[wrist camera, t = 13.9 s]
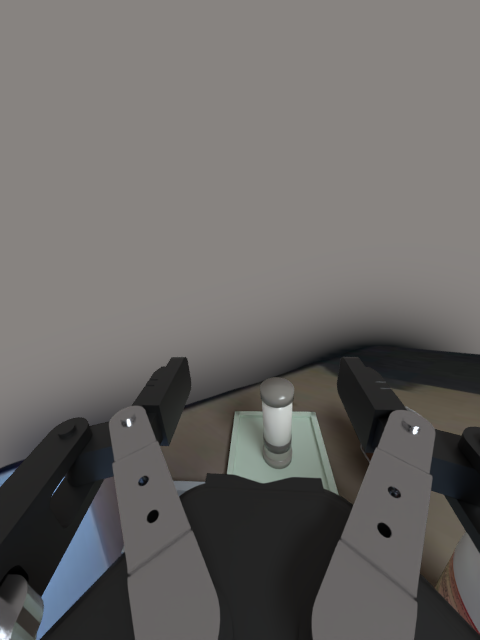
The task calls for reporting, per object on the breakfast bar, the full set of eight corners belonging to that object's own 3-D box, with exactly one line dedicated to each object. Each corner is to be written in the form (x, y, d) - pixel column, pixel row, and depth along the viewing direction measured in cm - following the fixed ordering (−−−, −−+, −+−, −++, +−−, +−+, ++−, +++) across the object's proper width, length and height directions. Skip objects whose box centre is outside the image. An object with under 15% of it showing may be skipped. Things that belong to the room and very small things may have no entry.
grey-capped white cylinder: (263, 468, 37) (260, 399, 32) (262, 442, 42) (260, 377, 36) (293, 469, 37) (296, 399, 31) (290, 443, 41) (291, 377, 36)
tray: (222, 516, 32) (221, 510, 32) (235, 415, 49) (235, 411, 48) (343, 522, 30) (344, 517, 30) (314, 416, 47) (314, 411, 47)
